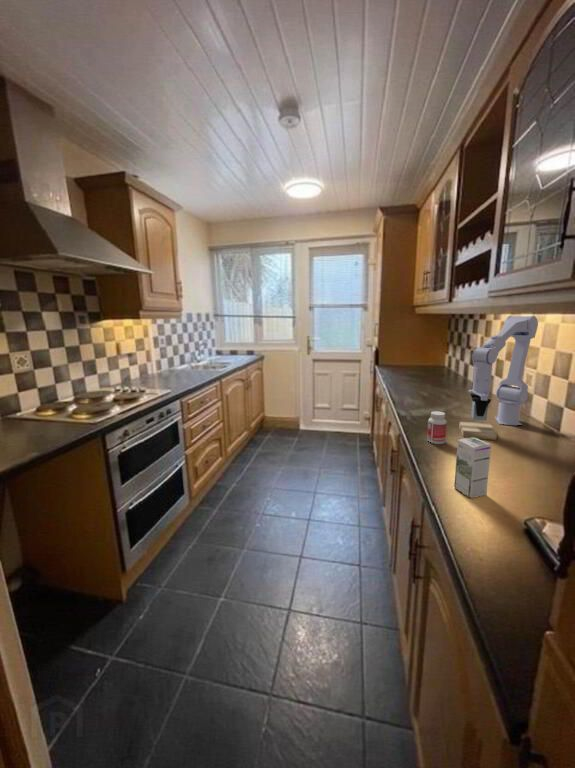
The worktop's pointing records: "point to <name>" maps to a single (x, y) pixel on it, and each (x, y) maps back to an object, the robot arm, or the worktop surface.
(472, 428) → the birch base
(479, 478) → the syrup box
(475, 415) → the blue block
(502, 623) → the worktop surface
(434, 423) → the pill bottle
